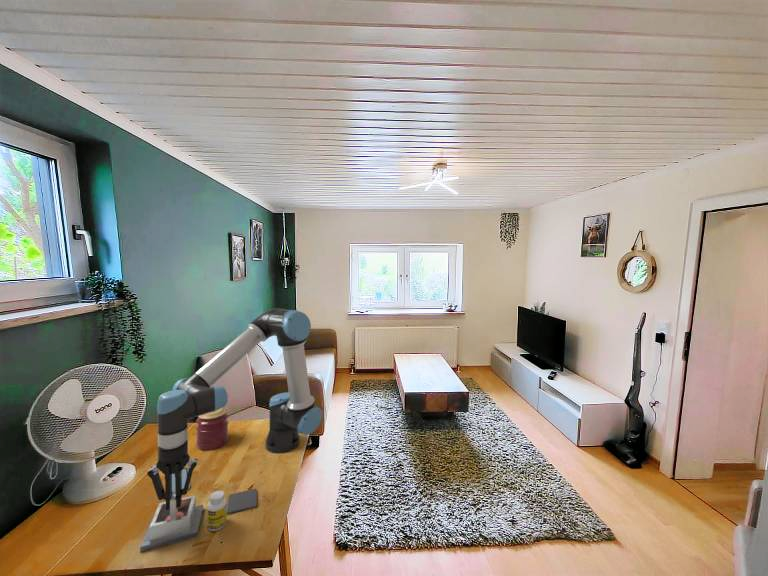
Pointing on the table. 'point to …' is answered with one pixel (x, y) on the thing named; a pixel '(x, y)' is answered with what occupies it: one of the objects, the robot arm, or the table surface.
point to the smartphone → (184, 476)
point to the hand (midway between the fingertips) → (174, 517)
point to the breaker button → (177, 516)
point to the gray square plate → (242, 501)
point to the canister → (212, 429)
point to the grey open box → (173, 525)
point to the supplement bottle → (216, 511)
